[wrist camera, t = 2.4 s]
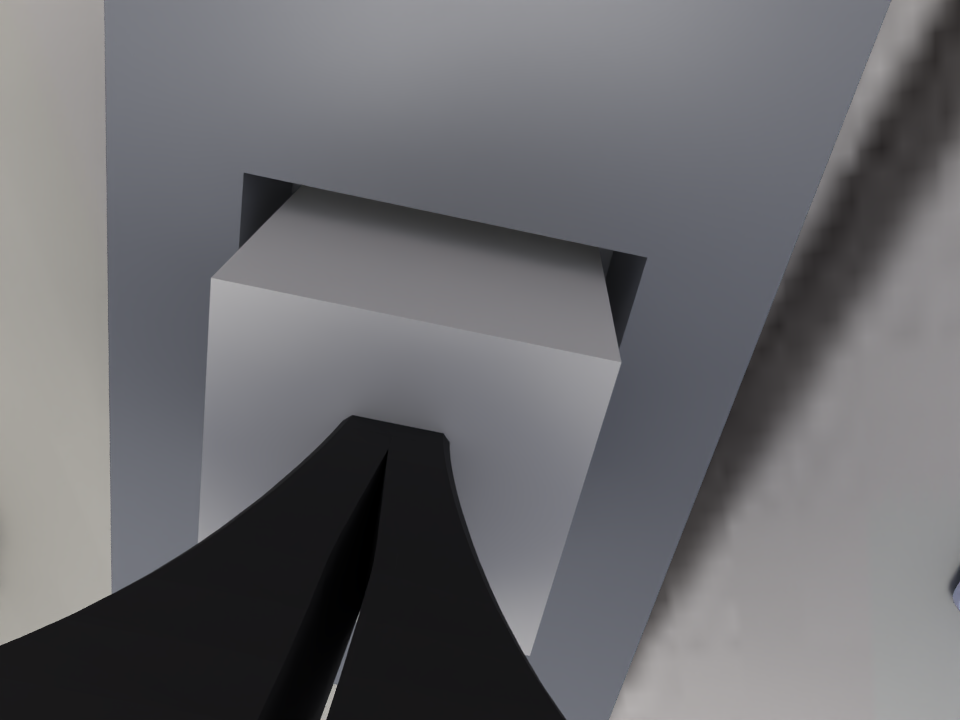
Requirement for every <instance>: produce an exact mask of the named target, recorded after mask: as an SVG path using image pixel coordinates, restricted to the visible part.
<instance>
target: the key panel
mask: <svg viewBox="0 0 960 720" xmlns="http://www.w3.org/2000/svg"><path fill="white" fill-rule="evenodd" d="M890 2H891V0H104V13H105V93H106V173H107V253H108V333H109V413H110V493H111V573H112V594H113V593H115V592H117V591H119V590H120V589H122V588H124V587H126V586H128V585H130V584H131V583H133V582H135V581H137V580H139V579H140V578H142V577H144V576H146V575H148V574H149V573H151V572H153V571H155V570H156V569H158V568H160V567H161V566H163V565H164V564H166V563H168V562H169V561H171V560H173V559H174V558H176V557H177V556H179V555H181V554H182V553H184V552H185V551H187V550H188V549H190V548H192V547H193V546H195V545H196V544H198V530H199V510H200V489H201V469H202V449H203V429H204V409H205V388H206V368H207V348H208V328H209V307H210V287H211V277H212V276H213V275H214V274H215V273H216V272H217V271H218V270H219V269H220V268H221V267H222V266H223V265H224V264H225V263H226V262H227V261H228V260H229V259H230V258H231V257H232V256H233V255H234V254H235V253H236V252H237V251H238V250H239V249H240V248H241V247H242V246H243V245H244V244H245V243H246V242H247V241H248V240H249V239H250V238H251V237H252V236H253V235H254V233H255V232H256V231H257V230H258V229H259V228H260V227H261V226H262V225H263V224H264V223H265V222H266V221H267V220H268V219H269V218H270V217H271V216H272V215H273V214H274V213H275V212H276V211H277V210H278V209H279V208H280V207H281V206H282V205H283V204H284V203H285V202H286V201H287V200H288V199H289V198H290V197H291V196H292V195H293V194H294V193H295V192H296V191H297V190H298V189H299V188H300V187H301V186H302V185H305V186H310V187H315V188H319V189H324V190H329V191H334V192H338V193H343V194H348V195H353V196H357V197H362V198H367V199H372V200H376V201H381V202H386V203H391V204H395V205H400V206H405V207H410V208H414V209H419V210H424V211H429V212H433V213H438V214H443V215H448V216H452V217H457V218H462V219H467V220H471V221H476V222H481V223H486V224H490V225H495V226H500V227H505V228H509V229H514V230H519V231H524V232H528V233H533V234H538V235H543V236H547V237H552V238H557V239H562V240H566V241H571V242H576V243H581V244H585V245H590V246H595V247H599V252H600V257H601V262H602V267H603V272H604V277H605V282H606V287H607V292H608V297H609V302H610V307H611V312H612V317H613V322H614V327H615V332H616V338H617V343H618V348H619V353H620V358H621V365H620V369H619V372H618V375H617V378H616V382H615V385H614V388H613V391H612V394H611V398H610V401H609V404H608V407H607V410H606V414H605V417H604V420H603V423H602V426H601V430H600V433H599V436H598V439H597V442H596V446H595V449H594V452H593V455H592V458H591V462H590V465H589V468H588V471H587V474H586V478H585V481H584V484H583V487H582V491H581V494H580V497H579V500H578V503H577V507H576V510H575V513H574V516H573V519H572V523H571V526H570V529H569V532H568V535H567V539H566V542H565V545H564V548H563V551H562V555H561V558H560V561H559V564H558V567H557V571H556V574H555V577H554V580H553V583H552V587H551V590H550V593H549V596H548V600H547V603H546V606H545V609H544V612H543V616H542V619H541V622H540V625H539V628H538V632H537V635H536V638H535V641H534V644H533V648H532V651H531V654H530V656H528V655H525V656H526V658H527V659H528V661H529V663H530V664H531V666H532V668H533V670H534V671H535V673H536V675H537V676H538V678H539V680H540V681H541V683H542V685H543V686H544V688H545V689H546V691H547V692H548V693H549V695H550V696H551V698H552V699H553V701H554V702H555V704H556V705H557V707H558V708H559V710H560V711H561V712H562V714H563V715H564V717H565V718H566V720H609V718H610V715H611V713H612V710H613V708H614V705H615V703H616V700H617V697H618V695H619V692H620V690H621V687H622V685H623V682H624V680H625V677H626V675H627V672H628V669H629V667H630V664H631V662H632V659H633V657H634V654H635V652H636V649H637V647H638V644H639V641H640V639H641V636H642V634H643V631H644V629H645V626H646V624H647V621H648V619H649V616H650V613H651V611H652V608H653V606H654V603H655V601H656V598H657V596H658V593H659V591H660V588H661V585H662V583H663V580H664V578H665V575H666V573H667V570H668V568H669V565H670V562H671V560H672V557H673V555H674V552H675V550H676V547H677V545H678V542H679V540H680V537H681V534H682V532H683V529H684V527H685V524H686V522H687V519H688V517H689V514H690V512H691V509H692V506H693V504H694V501H695V499H696V496H697V494H698V491H699V489H700V486H701V484H702V481H703V478H704V476H705V473H706V471H707V468H708V466H709V463H710V461H711V458H712V456H713V453H714V450H715V448H716V445H717V443H718V440H719V438H720V435H721V433H722V430H723V428H724V425H725V422H726V420H727V417H728V415H729V412H730V410H731V407H732V405H733V402H734V400H735V397H736V394H737V392H738V389H739V387H740V384H741V382H742V379H743V377H744V374H745V371H746V369H747V366H748V364H749V361H750V359H751V356H752V354H753V351H754V349H755V346H756V343H757V341H758V338H759V336H760V333H761V331H762V328H763V326H764V323H765V321H766V318H767V315H768V313H769V310H770V308H771V305H772V303H773V300H774V298H775V295H776V293H777V290H778V287H779V285H780V282H781V280H782V277H783V275H784V272H785V270H786V267H787V265H788V262H789V259H790V257H791V254H792V252H793V249H794V247H795V244H796V242H797V239H798V237H799V234H800V231H801V229H802V226H803V224H804V221H805V219H806V216H807V214H808V211H809V209H810V206H811V203H812V201H813V198H814V196H815V193H816V191H817V188H818V186H819V183H820V180H821V178H822V175H823V173H824V170H825V168H826V165H827V163H828V160H829V158H830V155H831V152H832V150H833V147H834V145H835V142H836V140H837V137H838V135H839V132H840V130H841V127H842V124H843V122H844V119H845V117H846V114H847V112H848V109H849V107H850V104H851V102H852V99H853V96H854V94H855V91H856V89H857V86H858V84H859V81H860V79H861V76H862V74H863V71H864V68H865V66H866V63H867V61H868V58H869V56H870V53H871V51H872V48H873V46H874V43H875V40H876V38H877V35H878V33H879V30H880V28H881V25H882V23H883V20H884V18H885V15H886V12H887V10H888V7H889V5H890ZM356 623H357V622H356ZM356 623H355V626H356ZM355 626H354V629H353V632H352V634H351V637H350V640H349V642H348V645H347V648H346V651H345V653H344V656H343V659H342V662H341V664H340V667H339V670H338V673H337V675H336V678H335V681H334V683H333V684H337V685H338V682H339V679H340V676H341V672H342V669H343V666H344V663H345V659H346V656H347V653H348V649H349V646H350V643H351V639H352V636H353V633H354V630H355Z"/></svg>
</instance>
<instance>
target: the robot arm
mask: <svg viewBox="0 0 960 720" xmlns="http://www.w3.org/2000/svg"><path fill="white" fill-rule="evenodd" d="M953 601H954V603H955V605H956V606H957V608H958V610H959V611H960V582H959V584H958V585H957V587H956V589H955V591H954V594H953ZM359 612H360V613H359ZM358 615H359V616H358ZM357 618H358V620H357ZM356 621H357V623H356ZM355 623H356V626H355ZM354 626H355V630H354V633H353V636H352V639H351V643H350V646H349V649H348V653H347V656H346V659H345V663H344V666H343V669H342V672H341V676H340V679H339V682H338V685H337V688H336V691H335V694H334V698H333V701H332V704H331V707H330V710H329V713H328V716H327V720H566V718H565V717H564V715H563V714H562V712H561V711H560V710H559V708H558V707H557V705H556V704H555V702H554V701H553V699H552V698H551V696H550V695H549V693H548V692H547V691H546V689H545V688H544V686H543V685H542V683H541V681H540V680H539V678H538V676H537V675H536V673H535V671H534V670H533V668H532V666H531V664H530V663H529V661H528V659H527V658H526V656H525V654H524V652H523V651H522V649H521V647H520V645H519V644H518V642H517V640H516V638H515V636H514V634H513V632H512V630H511V629H510V627H509V625H508V623H507V621H506V619H505V617H504V615H503V613H502V611H501V609H500V607H499V605H498V603H497V600H496V598H495V596H494V594H493V592H492V589H491V587H490V585H489V582H488V580H487V578H486V575H485V573H484V570H483V568H482V566H481V563H480V561H479V558H478V555H477V553H476V550H475V547H474V545H473V542H472V539H471V536H470V533H469V530H468V527H467V524H466V521H465V517H464V514H463V511H462V508H461V505H460V501H459V497H458V493H457V489H456V485H455V481H454V476H453V471H452V465H451V458H450V442H449V440H448V439H447V438H446V436H445V435H444V433H440V432H435V431H430V430H425V429H420V428H415V427H410V426H405V425H400V424H395V423H390V422H385V421H380V420H375V419H370V418H365V417H360V416H355V415H351V416H350V417H348V418H346V419H345V420H343V421H342V422H341V423H340V424H339V425H338V426H337V428H336V429H335V430H334V431H333V432H332V433H331V434H330V435H329V436H328V437H327V438H326V439H325V440H324V441H323V442H322V443H321V444H320V445H319V446H318V447H317V448H316V449H315V450H314V451H313V452H312V453H311V454H310V455H309V456H308V457H306V458H305V459H304V460H303V461H302V462H301V463H300V464H299V465H298V466H297V467H296V468H294V469H293V470H292V471H291V472H290V473H289V474H287V475H286V476H285V477H284V478H283V479H282V480H280V481H279V482H278V483H277V484H276V485H275V486H274V487H272V488H271V489H270V490H269V491H268V492H266V493H265V494H264V495H263V496H262V497H260V498H259V499H258V500H256V501H255V502H254V503H252V504H251V505H250V506H249V507H247V508H246V509H245V510H243V511H242V512H241V513H239V514H238V515H237V516H235V517H234V518H233V519H231V520H230V521H229V522H227V523H226V524H225V525H223V526H222V527H221V528H219V529H218V530H217V531H215V532H214V533H212V534H211V535H209V536H208V537H206V538H205V539H203V540H202V541H201V542H199V543H198V544H196V545H195V546H193V547H192V548H190V549H188V550H187V551H185V552H184V553H182V554H181V555H179V556H177V557H176V558H174V559H173V560H171V561H169V562H168V563H166V564H164V565H163V566H161V567H160V568H158V569H156V570H155V571H153V572H151V573H149V574H148V575H146V576H144V577H142V578H140V579H139V580H137V581H135V582H133V583H131V584H130V585H128V586H126V587H124V588H122V589H120V590H119V591H117V592H115V593H113V594H111V595H109V596H107V597H105V598H103V599H101V600H99V601H98V602H96V603H94V604H92V605H90V606H88V607H86V608H84V609H82V610H80V611H78V612H76V613H74V614H72V615H70V616H68V617H65V618H63V619H61V620H59V621H57V622H54V623H52V624H50V625H48V626H45V627H43V628H41V629H39V630H36V631H34V632H32V633H29V634H27V635H25V636H23V637H20V638H18V639H15V640H13V641H10V642H8V643H5V644H3V645H1V646H0V720H320V719H321V716H322V713H323V711H324V708H325V705H326V702H327V700H328V697H329V694H330V692H331V689H332V686H333V683H334V681H335V678H336V675H337V673H338V670H339V667H340V664H341V662H342V659H343V656H344V653H345V651H346V648H347V645H348V642H349V640H350V637H351V634H352V632H353V629H354Z"/></svg>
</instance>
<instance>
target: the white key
mask: <svg viewBox="0 0 960 720" xmlns="http://www.w3.org/2000/svg"><path fill="white" fill-rule="evenodd" d="M620 365H621V358H620V353H619V348H618V343H617V338H616V332H615V327H614V322H613V317H612V312H611V307H610V302H609V297H608V292H607V287H606V282H605V277H604V272H603V267H602V262H601V257H600V252H599V247H595V246H590V245H585V244H581V243H576V242H571V241H566V240H562V239H557V238H552V237H547V236H543V235H538V234H533V233H528V232H524V231H519V230H514V229H509V228H505V227H500V226H495V225H490V224H486V223H481V222H476V221H471V220H467V219H462V218H457V217H452V216H448V215H443V214H438V213H433V212H429V211H424V210H419V209H414V208H410V207H405V206H400V205H395V204H391V203H386V202H381V201H376V200H372V199H367V198H362V197H357V196H353V195H348V194H343V193H338V192H334V191H329V190H324V189H319V188H315V187H310V186H305V185H302V186H301V187H300V188H299V189H298V190H297V191H296V192H295V193H294V194H293V195H292V196H291V197H290V198H289V199H288V200H287V201H286V202H285V203H284V204H283V205H282V206H281V207H280V208H279V209H278V210H277V211H276V212H275V213H274V214H273V215H272V216H271V217H270V218H269V219H268V220H267V221H266V222H265V223H264V224H263V225H262V226H261V227H260V228H259V229H258V230H257V231H256V232H255V233H254V235H253V236H252V237H251V238H250V239H249V240H248V241H247V242H246V243H245V244H244V245H243V246H242V247H241V248H240V249H239V250H238V251H237V252H236V253H235V254H234V255H233V256H232V257H231V258H230V259H229V260H228V261H227V262H226V263H225V264H224V265H223V266H222V267H221V268H220V269H219V270H218V271H217V272H216V273H215V274H214V275H213V276H212V277H211V287H210V307H209V328H208V348H207V368H206V388H205V409H204V429H203V449H202V469H201V489H200V510H199V530H198V543H199V542H201V541H202V540H203V539H205V538H206V537H208V536H209V535H211V534H212V533H214V532H215V531H217V530H218V529H219V528H221V527H222V526H223V525H225V524H226V523H227V522H229V521H230V520H231V519H233V518H234V517H235V516H237V515H238V514H239V513H241V512H242V511H243V510H245V509H246V508H247V507H249V506H250V505H251V504H252V503H254V502H255V501H256V500H258V499H259V498H260V497H262V496H263V495H264V494H265V493H266V492H268V491H269V490H270V489H271V488H272V487H274V486H275V485H276V484H277V483H278V482H279V481H280V480H282V479H283V478H284V477H285V476H286V475H287V474H289V473H290V472H291V471H292V470H293V469H294V468H296V467H297V466H298V465H299V464H300V463H301V462H302V461H303V460H304V459H305V458H306V457H308V456H309V455H310V454H311V453H312V452H313V451H314V450H315V449H316V448H317V447H318V446H319V445H320V444H321V443H322V442H323V441H324V440H325V439H326V438H327V437H328V436H329V435H330V434H331V433H332V432H333V431H334V430H335V429H336V428H337V426H338V425H339V424H340V423H341V422H342V421H343V420H345V419H346V418H348V417H350V416H351V415H355V416H360V417H365V418H370V419H375V420H380V421H385V422H390V423H395V424H400V425H405V426H410V427H415V428H420V429H425V430H430V431H435V432H440V433H444V435H445V436H446V438H447V439H448V440H449V442H450V458H451V465H452V471H453V476H454V481H455V485H456V489H457V493H458V497H459V501H460V505H461V508H462V511H463V514H464V517H465V521H466V524H467V527H468V530H469V533H470V536H471V539H472V542H473V545H474V547H475V550H476V553H477V555H478V558H479V561H480V563H481V566H482V568H483V570H484V573H485V575H486V578H487V580H488V582H489V585H490V587H491V589H492V592H493V594H494V596H495V598H496V600H497V603H498V605H499V607H500V609H501V611H502V613H503V615H504V617H505V619H506V621H507V623H508V625H509V627H510V629H511V630H512V632H513V634H514V636H515V638H516V640H517V642H518V644H519V645H520V647H521V649H522V651H523V652H524V654H525V655H528V656H530V654H531V651H532V648H533V644H534V641H535V638H536V635H537V632H538V628H539V625H540V622H541V619H542V616H543V612H544V609H545V606H546V603H547V600H548V596H549V593H550V590H551V587H552V583H553V580H554V577H555V574H556V571H557V567H558V564H559V561H560V558H561V555H562V551H563V548H564V545H565V542H566V539H567V535H568V532H569V529H570V526H571V523H572V519H573V516H574V513H575V510H576V507H577V503H578V500H579V497H580V494H581V491H582V487H583V484H584V481H585V478H586V474H587V471H588V468H589V465H590V462H591V458H592V455H593V452H594V449H595V446H596V442H597V439H598V436H599V433H600V430H601V426H602V423H603V420H604V417H605V414H606V410H607V407H608V404H609V401H610V398H611V394H612V391H613V388H614V385H615V382H616V378H617V375H618V372H619V369H620ZM359 613H360V612H359ZM358 616H359V615H358ZM357 620H358V618H357ZM356 622H357V621H356Z"/></svg>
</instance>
